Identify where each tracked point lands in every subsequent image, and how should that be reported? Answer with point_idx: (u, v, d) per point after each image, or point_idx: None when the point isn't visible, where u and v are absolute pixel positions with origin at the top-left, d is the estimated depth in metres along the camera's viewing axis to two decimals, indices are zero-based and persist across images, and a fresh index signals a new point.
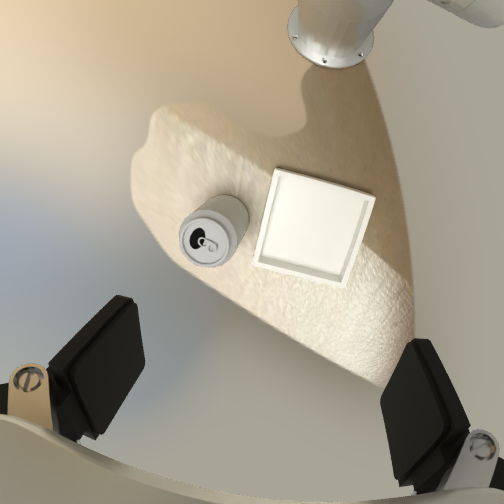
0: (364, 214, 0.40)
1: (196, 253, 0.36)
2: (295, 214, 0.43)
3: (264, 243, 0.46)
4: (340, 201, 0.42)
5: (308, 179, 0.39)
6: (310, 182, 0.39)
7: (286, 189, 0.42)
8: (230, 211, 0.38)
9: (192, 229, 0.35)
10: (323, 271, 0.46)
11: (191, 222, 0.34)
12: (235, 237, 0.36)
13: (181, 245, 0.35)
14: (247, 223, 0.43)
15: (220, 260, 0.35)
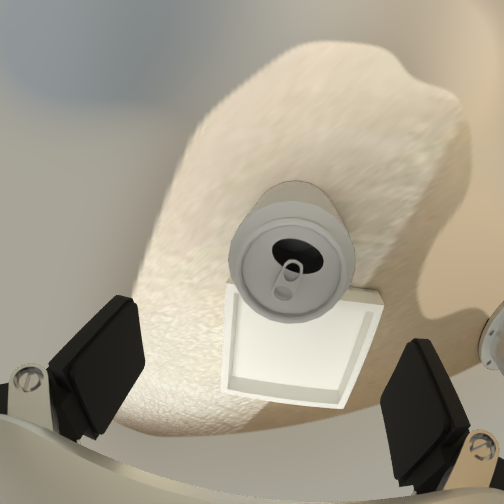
0: (321, 400, 0.31)
1: (261, 254, 0.16)
2: (311, 323, 0.29)
3: None
4: (332, 368, 0.31)
5: (368, 346, 0.27)
6: (363, 348, 0.27)
7: (347, 309, 0.28)
8: None
9: (318, 245, 0.15)
10: (233, 360, 0.33)
11: (338, 249, 0.15)
12: None
13: (279, 224, 0.15)
14: (295, 268, 0.26)
15: (257, 308, 0.17)
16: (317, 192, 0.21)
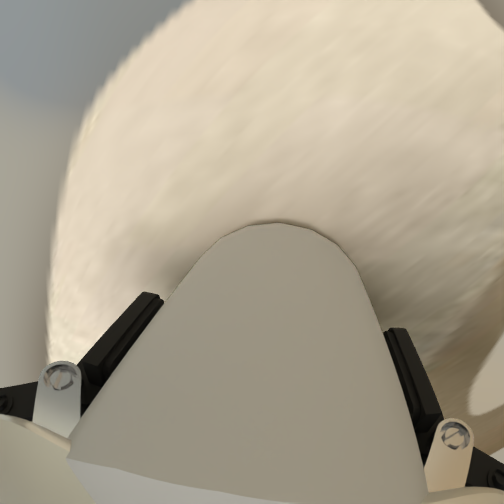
0: None
1: None
2: None
3: None
4: None
5: None
6: None
7: None
8: None
9: None
10: None
11: None
12: None
13: None
14: None
15: None
16: (330, 273, 0.08)
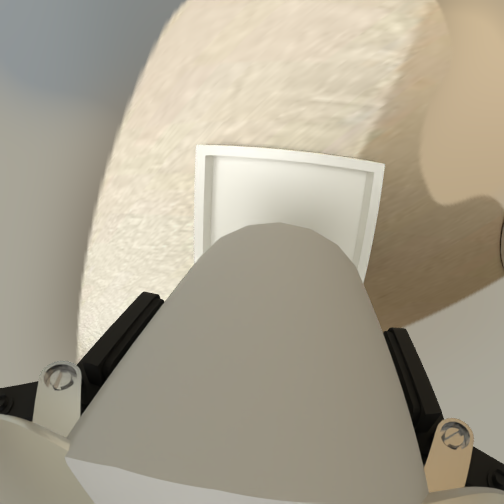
0: None
1: None
2: (301, 203, 0.25)
3: (238, 157, 0.24)
4: None
5: (373, 223, 0.22)
6: (369, 226, 0.22)
7: (342, 182, 0.24)
8: None
9: None
10: None
11: None
12: None
13: None
14: None
15: None
16: (330, 272, 0.08)
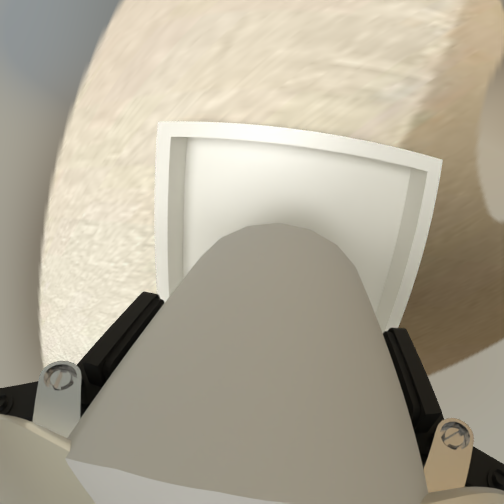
0: None
1: None
2: (315, 212, 0.17)
3: (222, 142, 0.16)
4: None
5: (421, 247, 0.14)
6: (414, 253, 0.14)
7: (376, 184, 0.15)
8: None
9: None
10: None
11: None
12: None
13: None
14: None
15: None
16: (330, 273, 0.08)
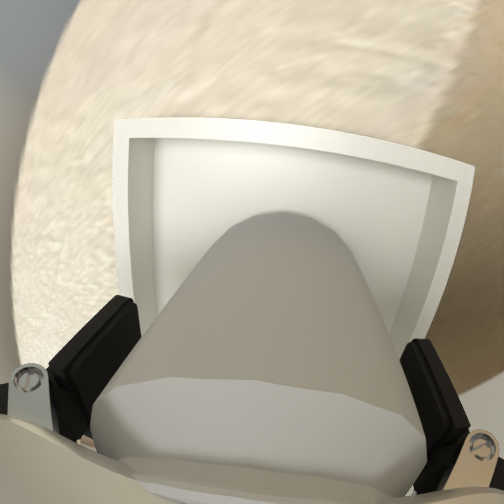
0: None
1: None
2: None
3: (197, 142, 0.13)
4: None
5: (445, 276, 0.11)
6: (436, 283, 0.11)
7: (391, 195, 0.12)
8: None
9: None
10: None
11: None
12: None
13: (175, 498, 0.03)
14: None
15: None
16: (328, 250, 0.09)
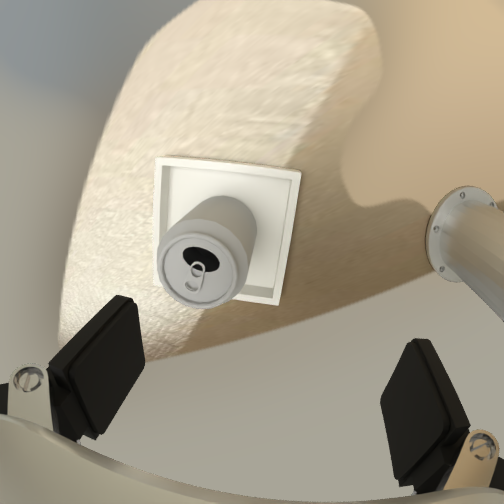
0: (254, 294, 0.33)
1: (176, 257, 0.22)
2: None
3: (188, 166, 0.30)
4: (263, 259, 0.34)
5: (291, 220, 0.29)
6: (287, 223, 0.29)
7: (270, 187, 0.31)
8: None
9: (214, 251, 0.21)
10: None
11: (227, 254, 0.21)
12: None
13: (184, 237, 0.21)
14: None
15: (175, 297, 0.23)
16: (232, 206, 0.27)
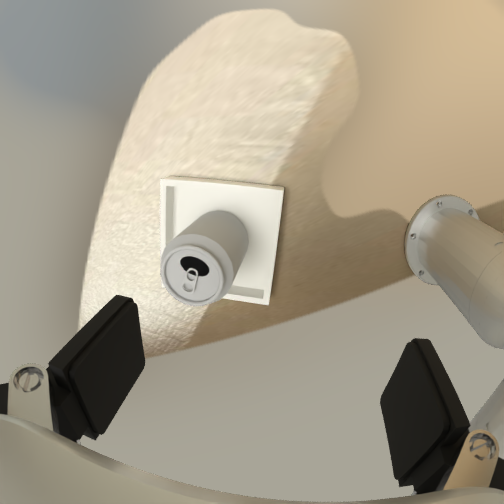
0: (247, 295, 0.38)
1: (175, 265, 0.27)
2: None
3: None
4: (255, 264, 0.39)
5: (276, 231, 0.34)
6: (273, 234, 0.34)
7: (259, 203, 0.36)
8: None
9: (205, 260, 0.27)
10: None
11: (214, 262, 0.26)
12: None
13: (180, 248, 0.26)
14: None
15: (175, 296, 0.28)
16: (224, 221, 0.33)
